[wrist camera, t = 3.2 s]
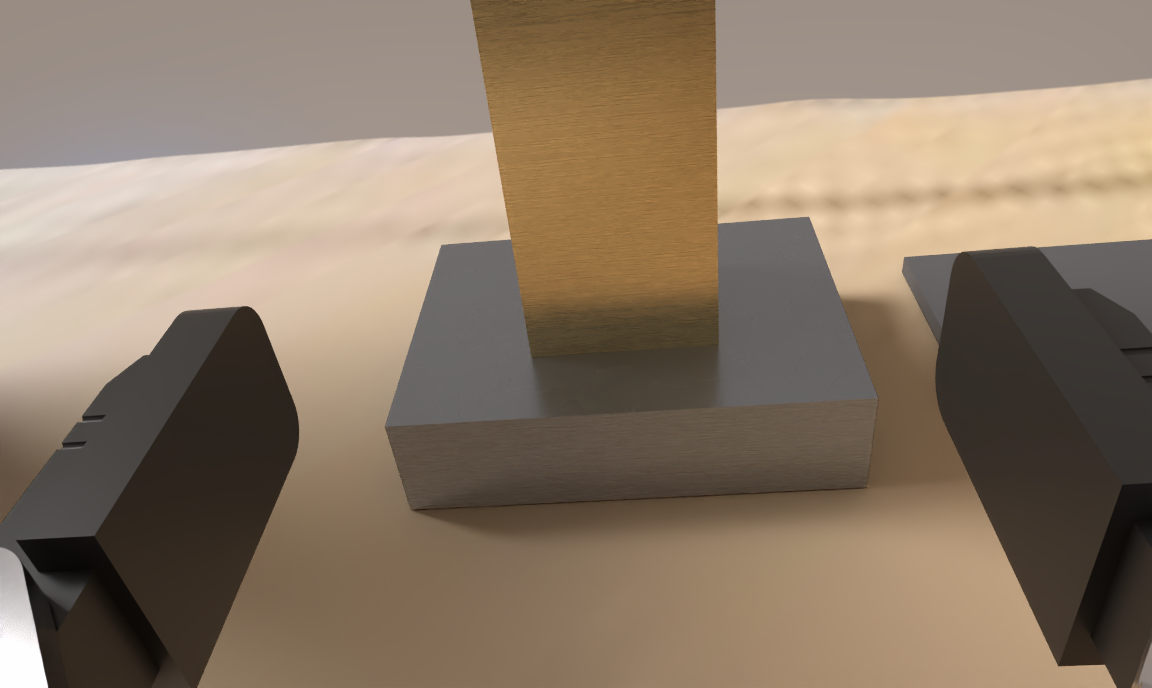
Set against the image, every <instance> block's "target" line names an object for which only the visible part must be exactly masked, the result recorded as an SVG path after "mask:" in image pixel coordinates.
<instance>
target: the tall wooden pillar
mask: <svg viewBox="0 0 1152 688" xmlns="http://www.w3.org/2000/svg"><path fill="white" fill-rule="evenodd" d="M470 1H471V7H472V13H473V19H474V24H475V31H476V37H477V42H478V48H479V53H480V60H481V66H482V72H483V77H484V83H485V89H486V94H487V101H488V107H489V113H490V118H491V124H492V130H493V136H494V142H495V148H496V154H497V160H498V165H499V171H500V177H501V183H502V189H503V195H504V201H505V206H506V212H507V218H508V224H509V230H510V236H511V241H512V247H513V253H514V259H515V265H516V271H517V277H518V282H519V288H520V294H521V300H522V306H523V312H524V318H525V323H526V329H527V335H528V341H529V347H530V353H531V357H538V356H554V355H569V354H585V353H600V352H616V351H631V350H647V349H663V348H678V347H694V346H709V345H719V309H718V212H717V116H716V25H715V24H716V21H715V0H470Z"/></svg>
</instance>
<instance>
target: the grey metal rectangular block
mask: <svg viewBox="0 0 1152 688" xmlns="http://www.w3.org/2000/svg"><path fill="white" fill-rule="evenodd" d="M718 309H719V345H709V346H694V347H678V348H663V349H647V350H631V351H616V352H600V353H585V354H569V355H554V356H538V357H531V353H530V347H529V341H528V335H527V329H526V323H525V318H524V312H523V306H522V300H521V294H520V288H519V282H518V277H517V271H516V265H515V259H514V253H513V247H512V241H511V240H500V241H487V242H474V243H461V244H448V245H441V248H440V252H439V255H438V258H437V261H436V264H435V268H434V271H433V274H432V277H431V280H430V284H429V287H428V290H427V293H426V296H425V300H424V303H423V306H422V309H421V312H420V316H419V319H418V322H417V325H416V328H415V332H414V335H413V338H412V341H411V344H410V348H409V351H408V354H407V357H406V360H405V364H404V367H403V370H402V373H401V376H400V380H399V383H398V386H397V389H396V393H395V396H394V399H393V402H392V405H391V409H390V412H389V415H388V418H387V421H386V425H385V429H386V432H387V435H388V438H389V442H390V445H391V448H392V451H393V454H394V458H395V461H396V464H397V467H398V470H399V473H400V477H401V480H402V483H403V486H404V489H405V492H406V496H407V499H408V502H409V505H410V508H411V510H415V509H435V508H455V507H476V506H496V505H517V504H537V503H557V502H578V501H598V500H618V499H639V498H659V497H679V496H700V495H720V494H741V493H761V492H781V491H802V490H822V489H842V488H863V487H867V481H868V473H869V466H870V458H871V450H872V443H873V435H874V427H875V419H876V412H877V404H878V396H877V393H876V391H875V388H874V386H873V383H872V380H871V378H870V375H869V373H868V370H867V367H866V365H865V362H864V359H863V357H862V354H861V352H860V349H859V346H858V344H857V341H856V338H855V336H854V333H853V331H852V328H851V325H850V323H849V320H848V317H847V315H846V312H845V310H844V307H843V304H842V302H841V299H840V297H839V294H838V291H837V289H836V286H835V283H834V281H833V278H832V276H831V273H830V270H829V268H828V265H827V262H826V260H825V257H824V255H823V252H822V249H821V247H820V244H819V242H818V239H817V236H816V234H815V231H814V228H813V226H812V223H811V221H810V218H809V217H800V218H787V219H774V220H761V221H748V222H735V223H722V224H718Z"/></svg>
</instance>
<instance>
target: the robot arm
mask: <svg viewBox="0 0 1152 688" xmlns="http://www.w3.org/2000/svg"><path fill="white" fill-rule="evenodd" d="M936 393H937V400H938V405H939V409H940V412H941V416H942V418H943V421H944V423H945V425H946V427H947V429H948V432H949V434H950V436H951V438H952V440H953V442H954V444H955V447H956V449H957V451H958V453H959V455H960V457H961V459H962V461H963V464H964V466H965V468H966V470H967V472H968V474H969V476H970V479H971V481H972V483H973V485H974V487H975V489H976V491H977V494H978V496H979V498H980V500H981V502H982V504H983V506H984V509H985V511H986V513H987V515H988V517H989V519H990V521H991V523H992V526H993V528H994V530H995V532H996V534H997V536H998V538H999V541H1000V543H1001V545H1002V547H1003V549H1004V551H1005V553H1006V556H1007V558H1008V560H1009V562H1010V564H1011V566H1012V568H1013V570H1014V573H1015V575H1016V577H1017V579H1018V581H1019V583H1020V585H1021V588H1022V590H1023V592H1024V594H1025V596H1026V598H1027V600H1028V603H1029V605H1030V607H1031V609H1032V611H1033V613H1034V615H1035V618H1036V620H1037V622H1038V624H1039V626H1040V628H1041V630H1042V632H1043V635H1044V637H1045V639H1046V641H1047V643H1048V645H1049V647H1050V650H1051V652H1052V654H1053V656H1054V658H1055V660H1056V662H1057V665H1058V666H1078V665H1106V667H1107V669H1108V671H1109V673H1110V675H1111V677H1112V679H1113V681H1114V683H1115V685H1116V687H1117V688H1152V333H1151V332H1150V331H1149V330H1148V329H1147V328H1146V326H1145V325H1144V324H1143V323H1142V322H1141V321H1140V320H1139V318H1138V317H1137V316H1136V315H1135V314H1134V313H1132V312H1130V311H1129V310H1127V309H1125V308H1124V307H1122V306H1120V305H1118V304H1117V303H1115V302H1113V301H1112V300H1110V299H1108V298H1106V297H1105V296H1103V295H1101V294H1100V293H1098V292H1096V291H1094V290H1093V289H1091V288H1083V289H1071V288H1070V286H1069V285H1068V284H1067V283H1066V281H1065V280H1064V279H1063V278H1062V276H1061V275H1060V274H1059V273H1058V271H1057V270H1056V269H1055V268H1054V266H1053V265H1052V264H1051V263H1050V261H1049V260H1048V259H1047V258H1046V256H1045V255H1044V254H1043V253H1042V252H1041V251H1040V250H1039V249H1038V248H1036V247H1032V246H1031V247H1018V248H1006V249H993V250H980V251H967V252H961V253H960V254H958V256H957V257H956V259H955V261H954V263H953V267H952V271H951V276H950V282H949V288H948V294H947V300H946V307H945V313H944V319H943V325H942V331H941V338H940V344H939V350H938V356H937V363H936ZM82 418H83V421H82V422H80V423H77V424H76V425H75V426H74V428H73V429H72V430H71V432H70V433H69V434H68V435H67V437H66V438H65V439H64V441H63V442H62V444H63V448H62V449H61V450H56V451H55V453H54V454H53V455H52V457H51V458H50V459H49V461H48V462H47V463H46V465H45V466H44V467H43V469H42V470H41V471H40V473H39V474H38V475H37V477H36V478H35V479H34V480H33V482H32V483H31V484H30V486H29V487H28V488H27V490H26V491H25V492H24V494H23V495H22V496H21V498H20V499H19V500H18V502H17V503H16V504H15V506H14V507H13V508H12V510H11V511H10V512H9V514H8V515H7V516H6V518H5V519H4V520H3V522H2V523H1V524H0V688H197V686H198V684H199V681H200V679H201V677H202V674H203V672H204V670H205V667H206V665H207V663H208V660H209V658H210V656H211V653H212V651H213V648H214V646H215V644H216V641H217V639H218V637H219V634H220V632H221V630H222V627H223V625H224V623H225V620H226V618H227V616H228V613H229V611H230V609H231V606H232V604H233V602H234V599H235V597H236V595H237V592H238V590H239V588H240V585H241V583H242V581H243V578H244V576H245V574H246V571H247V569H248V567H249V564H250V562H251V559H252V557H253V555H254V552H255V550H256V548H257V545H258V543H259V541H260V538H261V536H262V534H263V531H264V529H265V527H266V524H267V522H268V520H269V517H270V515H271V513H272V510H273V508H274V506H275V503H276V501H277V499H278V496H279V494H280V492H281V489H282V487H283V485H284V482H285V480H286V478H287V475H288V473H289V471H290V468H291V466H292V463H293V461H294V459H295V456H296V452H297V448H298V442H299V423H298V416H297V411H296V407H295V404H294V402H293V399H292V396H291V394H290V391H289V389H288V386H287V384H286V381H285V379H284V376H283V373H282V371H281V368H280V366H279V363H278V361H277V358H276V356H275V353H274V350H273V348H272V345H271V343H270V340H269V338H268V335H267V333H266V330H265V327H264V325H263V323H262V320H261V319H260V317H259V315H258V314H257V313H256V312H255V310H253V309H252V308H250V307H248V306H242V307H229V308H216V309H203V310H191V311H185V312H182V313H181V314H179V315H178V316H177V317H176V319H175V320H174V321H173V323H172V324H171V326H170V327H169V328H168V330H167V331H166V332H165V334H164V335H163V337H162V338H161V339H160V341H159V342H158V344H157V345H156V346H155V348H154V349H153V350H152V352H151V353H150V355H145V356H142V357H141V358H140V359H139V360H137V361H136V362H135V363H133V364H132V365H131V366H129V367H128V368H127V369H125V370H124V371H123V372H122V373H120V374H119V375H118V376H116V377H115V378H114V379H112V380H111V381H110V382H109V383H107V384H106V385H105V386H104V388H103V389H102V390H101V392H100V393H99V394H98V396H97V397H96V398H95V400H94V401H93V402H92V404H91V405H90V406H89V408H88V409H87V410H86V412H85V413H84V414H83V416H82Z"/></svg>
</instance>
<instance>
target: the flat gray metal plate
mask: <svg viewBox="0 0 1152 688" xmlns="http://www.w3.org/2000/svg"><path fill="white" fill-rule="evenodd" d="M1038 249H1039V250H1040V251H1041V252H1042V253H1043V254H1044V255H1045V256H1046V258H1047V259H1048V260H1049V261H1050V263H1051V264H1052V265H1053V266H1054V268H1055V269H1056V270H1057V271H1058V273H1059V274H1060V275H1061V276H1062V278H1063V279H1064V280H1065V281H1066V283H1067V284H1068V285H1069V286H1070V288H1071V289H1083V288H1091V289H1093V290H1094V291H1096V292H1098V293H1100V294H1101V295H1103V296H1105V297H1106V298H1108V299H1110V300H1112V301H1113V302H1115V303H1117V304H1118V305H1120V306H1122V307H1124V308H1125V309H1127V310H1129V311H1130V312H1132V313H1134V314H1135V315H1136V316H1137V317H1138V318H1139V320H1140V321H1141V322H1142V323H1143V324H1144V325H1145V326H1146V328H1147V329H1148V330H1149V331H1150V332H1151V333H1152V239H1151V240H1137V241H1123V242H1109V243H1095V244H1081V245H1067V246H1053V247H1039V248H1038ZM958 254H960V253H956V254H942V255H928V256H914V257H904V262H903V270H902V273H903V275H904V277H905V279H906V281H907V283H908V285H909V287H910V288H911V290H912V292H913V294H914V296H915V298H916V300H917V302H918V304H919V306H920V308H921V310H922V312H923V314H924V316H925V318H926V320H927V322H928V324H929V326H930V328H931V330H932V332H933V334H934V336H935V338H936V340H937V342H938V344H940V338H941V331H942V325H943V319H944V313H945V307H946V300H947V294H948V288H949V282H950V276H951V271H952V267H953V263H954V261H955V259H956V257H957V256H958Z"/></svg>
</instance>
